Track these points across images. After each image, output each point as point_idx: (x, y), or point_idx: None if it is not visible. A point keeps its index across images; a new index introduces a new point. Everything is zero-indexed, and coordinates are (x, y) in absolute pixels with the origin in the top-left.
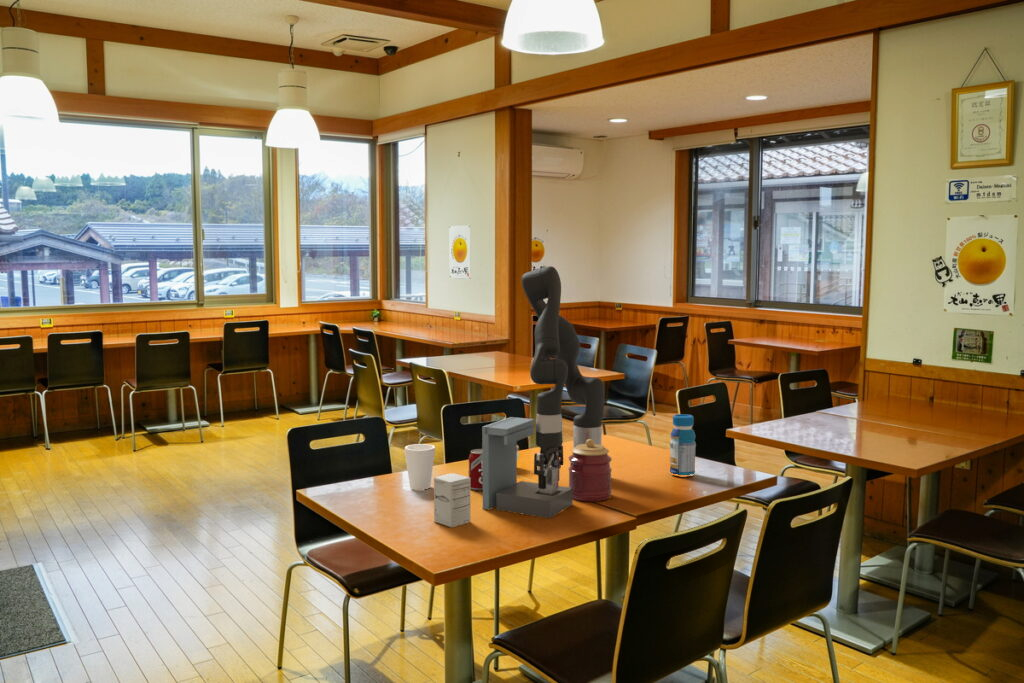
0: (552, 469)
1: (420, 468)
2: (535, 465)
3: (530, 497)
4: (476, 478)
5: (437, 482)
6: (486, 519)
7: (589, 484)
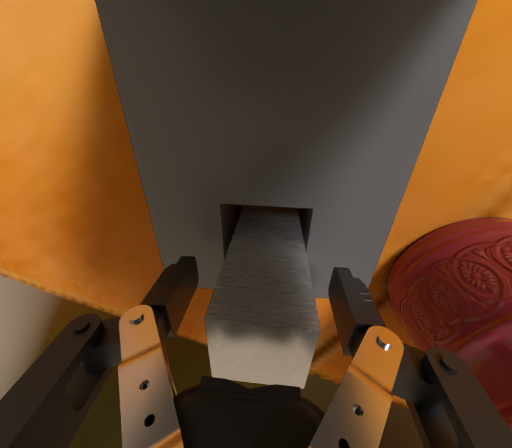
0: (240, 374)
1: None
2: (17, 397)
3: (154, 215)
4: None
5: None
6: (32, 57)
7: (414, 339)
